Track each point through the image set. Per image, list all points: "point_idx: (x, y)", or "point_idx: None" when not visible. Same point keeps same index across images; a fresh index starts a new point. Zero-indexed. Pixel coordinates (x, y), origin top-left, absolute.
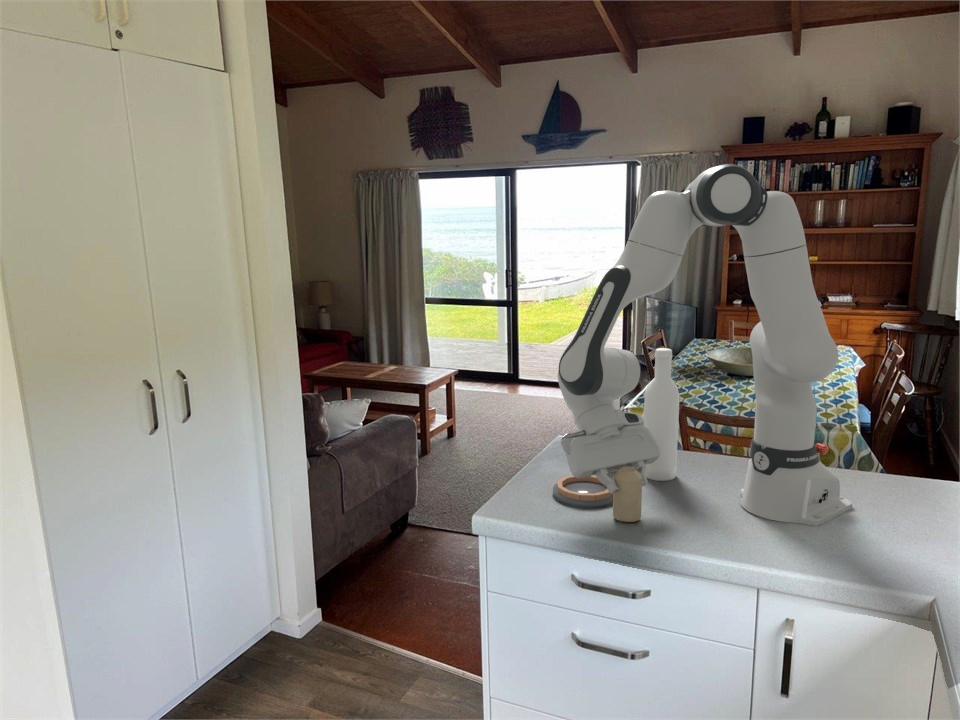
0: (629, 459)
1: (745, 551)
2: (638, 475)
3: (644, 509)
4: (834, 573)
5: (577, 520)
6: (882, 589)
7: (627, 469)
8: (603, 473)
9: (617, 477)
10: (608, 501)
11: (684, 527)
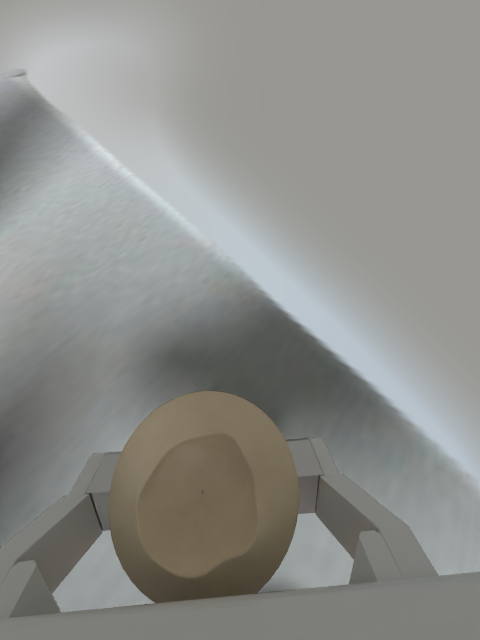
0: (92, 637)
1: (98, 216)
2: (167, 416)
3: None
4: (49, 134)
5: None
6: (43, 99)
7: (174, 541)
8: (399, 537)
9: (292, 476)
10: None
11: (111, 343)
